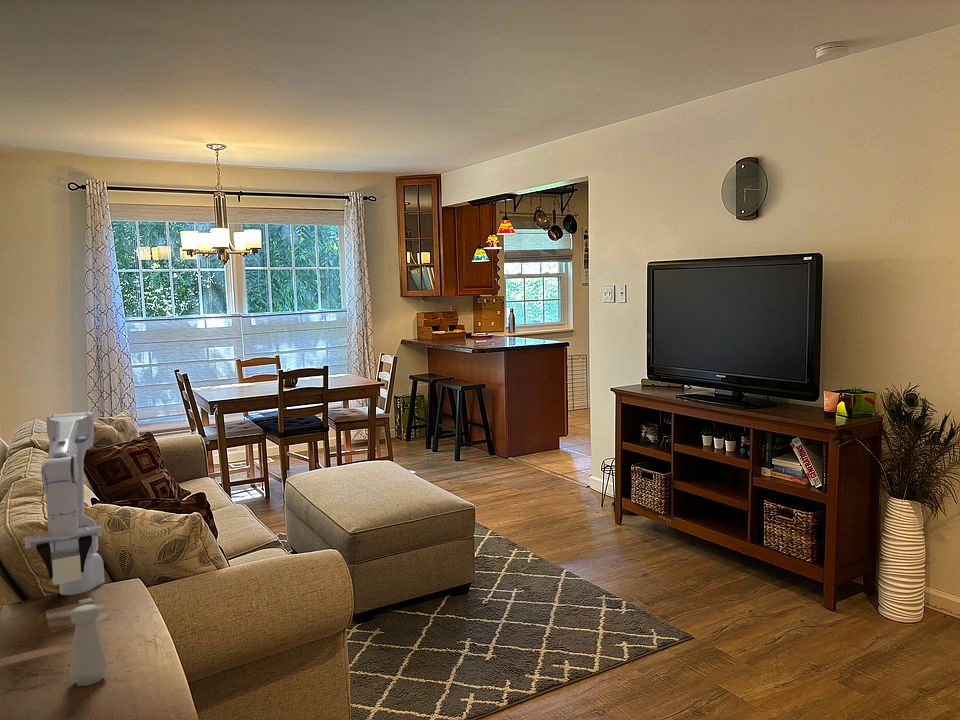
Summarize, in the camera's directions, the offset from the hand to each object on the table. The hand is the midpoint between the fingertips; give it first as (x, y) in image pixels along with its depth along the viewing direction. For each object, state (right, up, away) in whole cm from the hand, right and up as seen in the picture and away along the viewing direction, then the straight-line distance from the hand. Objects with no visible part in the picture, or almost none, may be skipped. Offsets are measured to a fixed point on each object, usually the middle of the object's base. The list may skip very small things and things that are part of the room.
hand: (66, 574), depth 157 cm
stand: (+3, -9, -2) cm, 10 cm away
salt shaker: (+22, -9, -32) cm, 40 cm away
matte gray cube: (0, -1, 0) cm, 1 cm away
